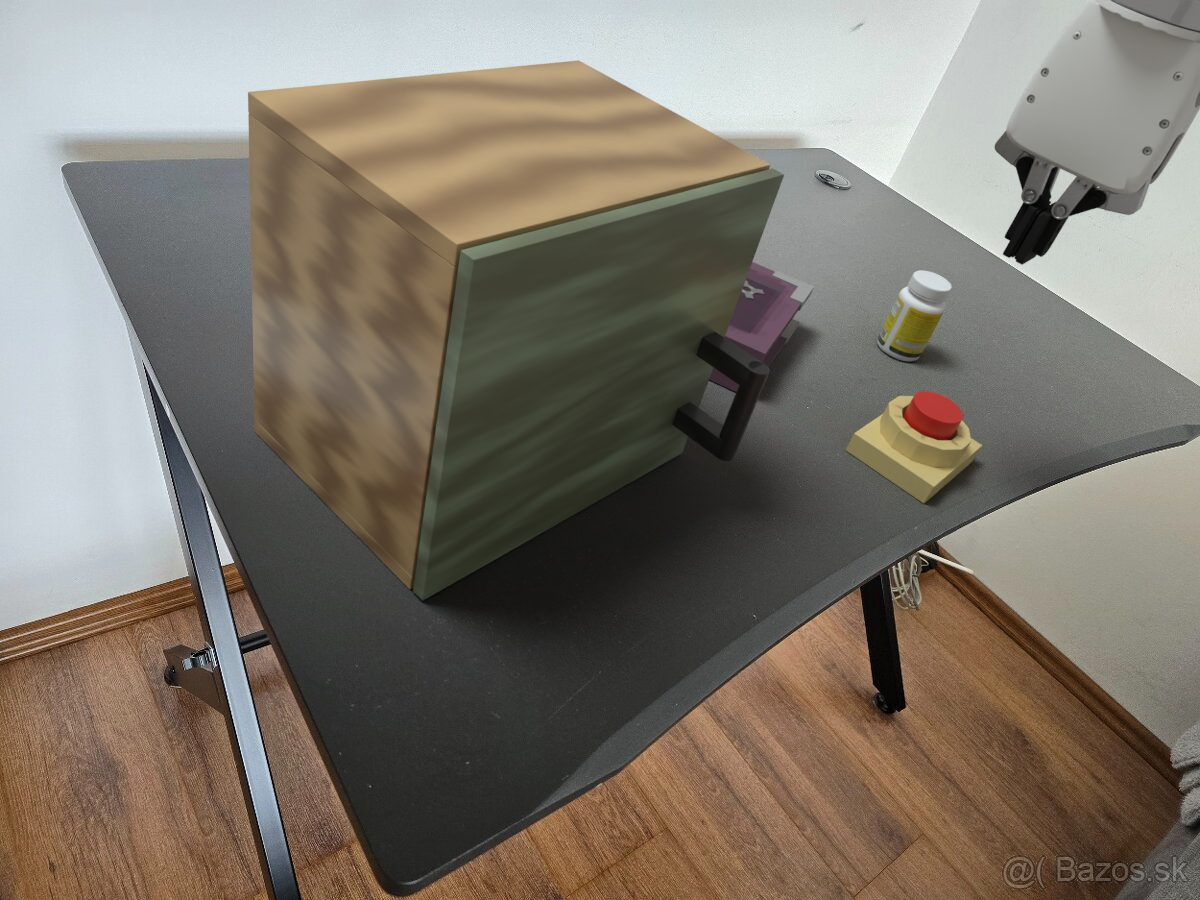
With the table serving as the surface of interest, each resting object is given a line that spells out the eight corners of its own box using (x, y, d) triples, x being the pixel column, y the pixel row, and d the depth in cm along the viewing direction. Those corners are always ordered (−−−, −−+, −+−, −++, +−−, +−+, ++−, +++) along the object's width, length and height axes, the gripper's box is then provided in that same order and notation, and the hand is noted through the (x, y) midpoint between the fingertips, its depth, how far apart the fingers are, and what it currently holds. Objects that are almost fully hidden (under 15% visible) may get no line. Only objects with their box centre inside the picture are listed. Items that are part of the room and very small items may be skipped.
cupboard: (670, 446, 75) (771, 164, 60) (409, 590, 57) (457, 244, 42) (523, 334, 82) (578, 59, 67) (254, 431, 65) (247, 91, 50)
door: (732, 491, 72) (852, 211, 57) (477, 657, 55) (553, 317, 40) (673, 446, 75) (772, 167, 60) (412, 591, 57) (460, 249, 42)
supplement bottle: (928, 359, 96) (965, 290, 91) (898, 365, 94) (935, 295, 88) (896, 334, 99) (930, 265, 94) (866, 339, 96) (900, 270, 91)
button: (917, 403, 82) (927, 385, 80) (960, 430, 80) (971, 412, 78) (894, 419, 79) (904, 400, 77) (938, 448, 77) (949, 429, 76)
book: (796, 328, 95) (814, 286, 92) (748, 398, 83) (766, 353, 80) (583, 234, 100) (593, 192, 97) (509, 287, 88) (517, 241, 85)
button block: (897, 413, 86) (916, 380, 84) (972, 461, 83) (993, 428, 80) (845, 450, 80) (863, 414, 77) (923, 504, 76) (945, 468, 74)
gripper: (1303, 38, 56) (1128, 293, 68) (1077, -44, 62) (953, 202, 74) (1280, 47, 51) (1096, 319, 63) (1038, -44, 58) (911, 219, 69)
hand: (1019, 255), depth 68 cm, fingers closed
